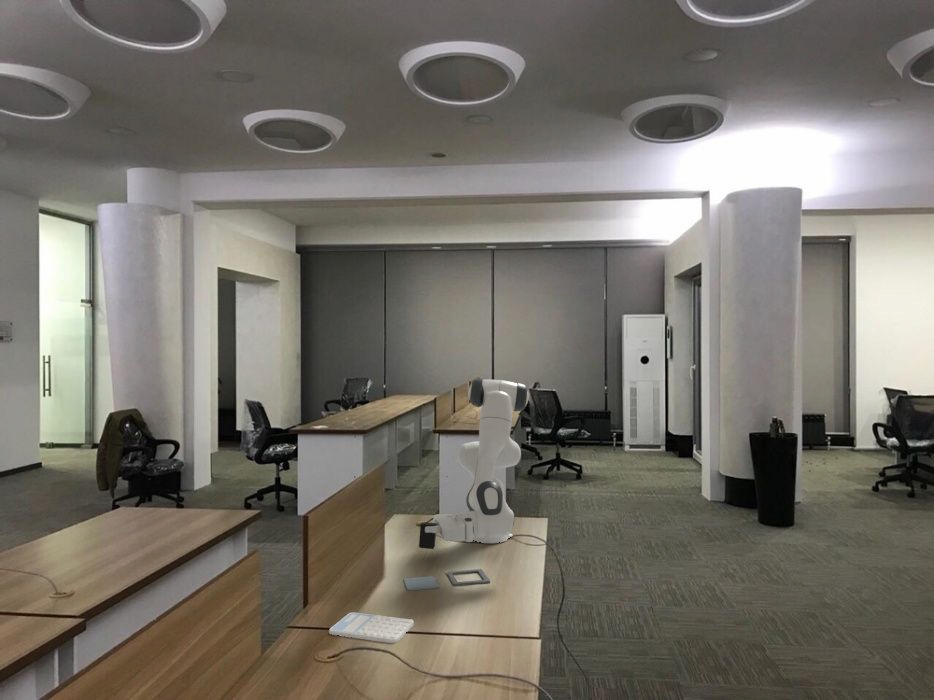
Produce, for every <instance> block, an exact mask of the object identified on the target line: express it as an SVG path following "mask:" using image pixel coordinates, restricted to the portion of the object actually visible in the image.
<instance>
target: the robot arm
mask: <svg viewBox="0 0 934 700" xmlns="http://www.w3.org/2000/svg"><path fill="white" fill-rule="evenodd" d="M468 387H469V388H468V391H467V393H468V395H467V396H468V399H469V403H470V404H471V405H472V406H474V407H477V408H481V409H480V418H479V423H478V427H479V428H478V440H477V441H476V440H475V441H471V442H465V443H462V444H461V445H460V446H459V448H458V450H457V454H456V455H457V456H456V457H457V462H458V464H459V465H460V466H461V467H462V468H463V469H464V470H466V471H467V472H468V473H469V475H470V476H471V478H472V480H473V484H472V486H471V488H470V489H469V490H468V493H467V495H466V500H465V502H466V506H467V508H468V510H466V511H460V512H459V513H458V515H456V514H454V513H446V514H445V513H439V514H434V515H433V521H432V522H430V523H434V524H436V526H425V527H424V528H425V532H426V533H428V532H431V533H436V534H439V536H441V538H442V540H443V541H446V542H463V541H465V542H466V543H471V542H475V541H477V542H476V543H479V542H481V544H500V543H503V542H506V541H508V540H509V539H508V538H510V537H512V536H513V537H514V535H513V534H512V533H511V532H512V531H513V530H514V529H513V528H514V526H515V513H514V512H513V510H512V509H511V508H510V507H509V505H508V503H507V502H506V500H505V497H504V496H505V495H504V483H503V482H502V480H500V479H498V478H497V477H495V476H494V473H495V469H506V468H507V469H508V468H510V467H514V466H516V465H518V464H519V463H520V461H521V458H522V452H521V451H522V450H521V448H520V445H519V444H518V443H517V442H516V441H515V440H513V439H512V438H511V431H512V425H513V412H522V411H523V410H524V409H526V406H527V404H528V403H529V399H530V397H529V396H530V395H529V391H528V387H527V386H526V385H525V384H523V383H520V382H517V383H516V382H514V381H509V380H503V379H490V378H489V379H488V378H487V379H484V378H475V379H473V380H472V381H471V384H470V385H469V386H468ZM507 539H508V540H507ZM510 539H511V538H510ZM473 540H474V541H473ZM499 542H500V543H499Z"/></svg>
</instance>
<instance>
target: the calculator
mask: <svg viewBox="0 0 934 700" xmlns="http://www.w3.org/2000/svg"><path fill="white" fill-rule="evenodd" d="M414 625H415V623H414V620H413V619H410V618H409V619H408V618H403V617H402V618H401V617H394V616H387V615H380V614H373V613H372V614H369V613H365V612H364V613H363V612H355V611H352V612H349V613H348V614H346V615H345V616H344V617H342V618H341V619H340V620H338V622H336V623H335V624H334V625H332V626H331V627H330V628H329V630H328V634H329V635H331V634H332V636H337V635H339V637H344V636H345V638H351V637H352V639H359V640H364V641H365V640H366V641H373V642H379V643H387V644H396V643H398V642H399V641H400V640H401V639H402V638H403V637H404V636H405V635H406V634H407V633H408V632H409V631H410V630H411V628H412V627H413V626H414ZM406 632H407V633H406Z"/></svg>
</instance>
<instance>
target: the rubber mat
mask: <svg viewBox="0 0 934 700" xmlns="http://www.w3.org/2000/svg"><path fill="white" fill-rule="evenodd" d="M403 582H404V585H405V587H406V591H408V592H409V591H422V590H423V591H424V590H431V589H433V590H435V589H439V588H440V586H439V584H438V582H437V580H436V578H435V576H434V575H431V576H420V577H418V576H417V577H407V578H405V577H404V578H403Z"/></svg>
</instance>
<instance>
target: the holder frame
mask: <svg viewBox="0 0 934 700" xmlns="http://www.w3.org/2000/svg"><path fill="white" fill-rule="evenodd" d="M446 574H447V576H448V578H449V579H450V581H451V583H452V585H453V586H455V587H457V586H466V585H467V586H469V585H478V584H479V585H481V584H489V583H491V580H490V579H489V577H488V576H487V575H486V572H484V571H483V569H482V568H478V569H466V570H465V569H464V570H451V571H447V572H446ZM464 574H479V575H480V577H481V579H478V580H464V581H457V578H456V577H455V575H464Z"/></svg>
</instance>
